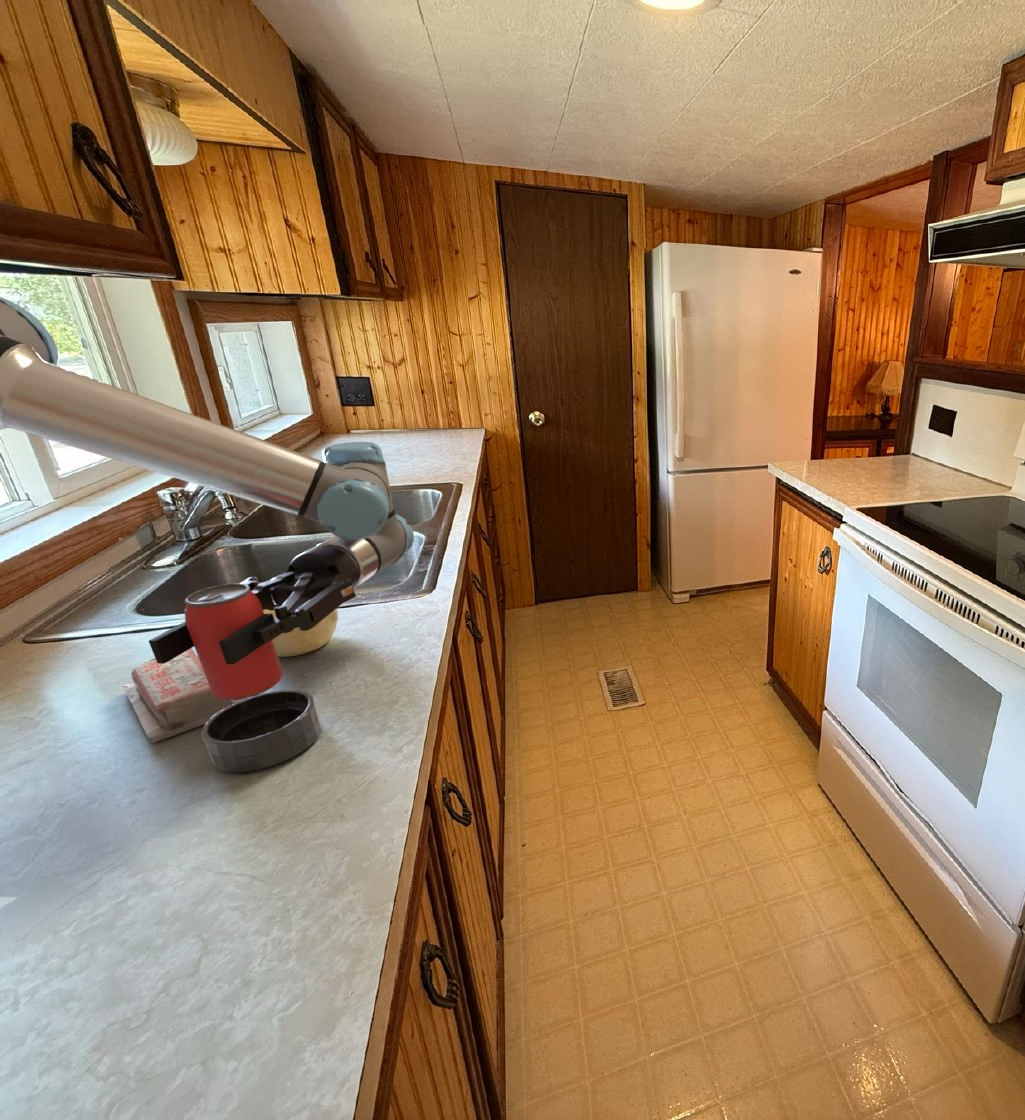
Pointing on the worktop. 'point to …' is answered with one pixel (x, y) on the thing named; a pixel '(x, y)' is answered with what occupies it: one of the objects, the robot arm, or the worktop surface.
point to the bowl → (262, 730)
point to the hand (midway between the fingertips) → (191, 652)
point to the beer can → (213, 621)
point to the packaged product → (173, 696)
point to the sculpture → (305, 636)
